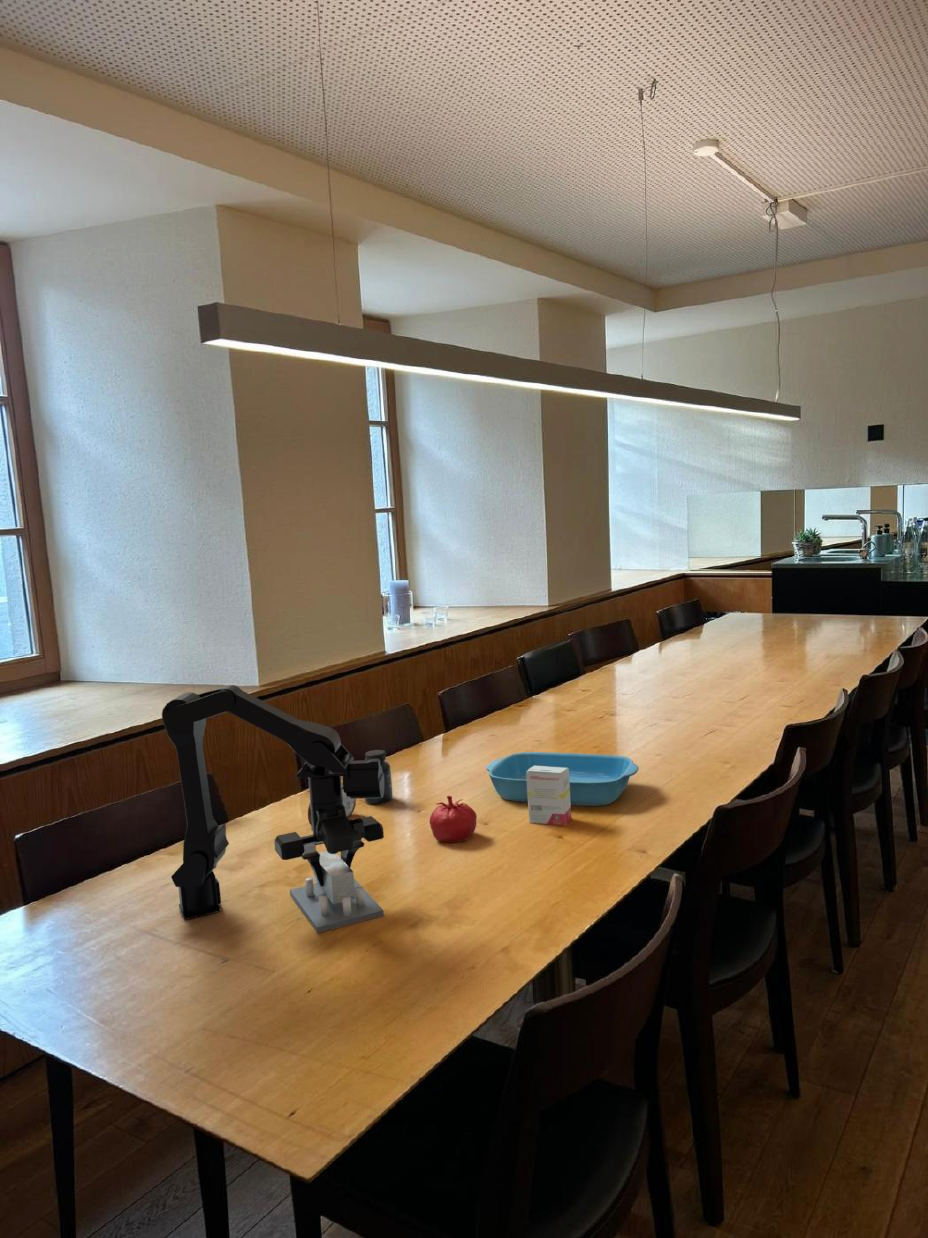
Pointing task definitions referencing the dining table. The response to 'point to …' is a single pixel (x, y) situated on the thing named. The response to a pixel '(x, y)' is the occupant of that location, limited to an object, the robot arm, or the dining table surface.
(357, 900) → the grey pegged platform
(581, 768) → the casserole dish
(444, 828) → the red tomato
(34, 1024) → the dining table surface
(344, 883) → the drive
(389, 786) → the supplement bottle
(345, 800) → the tin
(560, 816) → the ink box
